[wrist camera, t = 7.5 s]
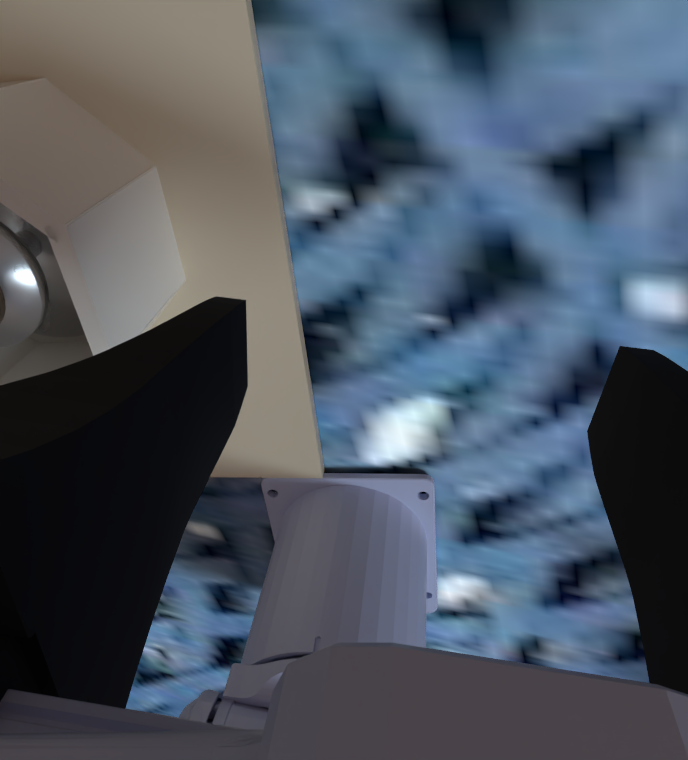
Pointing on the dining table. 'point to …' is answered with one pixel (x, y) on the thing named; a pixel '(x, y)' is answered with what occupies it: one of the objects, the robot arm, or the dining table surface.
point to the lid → (31, 285)
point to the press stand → (157, 194)
